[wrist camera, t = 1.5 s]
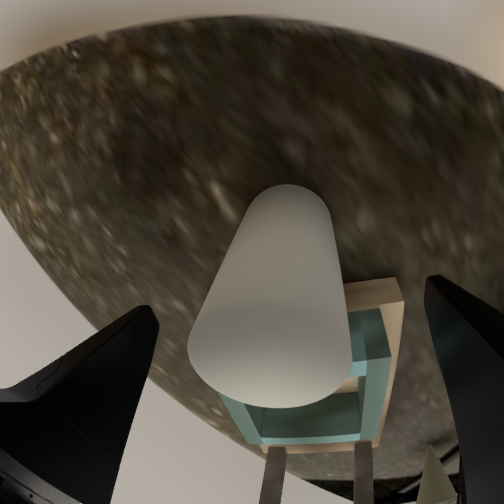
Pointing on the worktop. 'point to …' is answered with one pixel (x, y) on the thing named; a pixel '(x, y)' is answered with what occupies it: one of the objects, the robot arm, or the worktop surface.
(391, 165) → the worktop surface
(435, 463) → the ice cream cone
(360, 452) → the socket board
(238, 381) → the peg
